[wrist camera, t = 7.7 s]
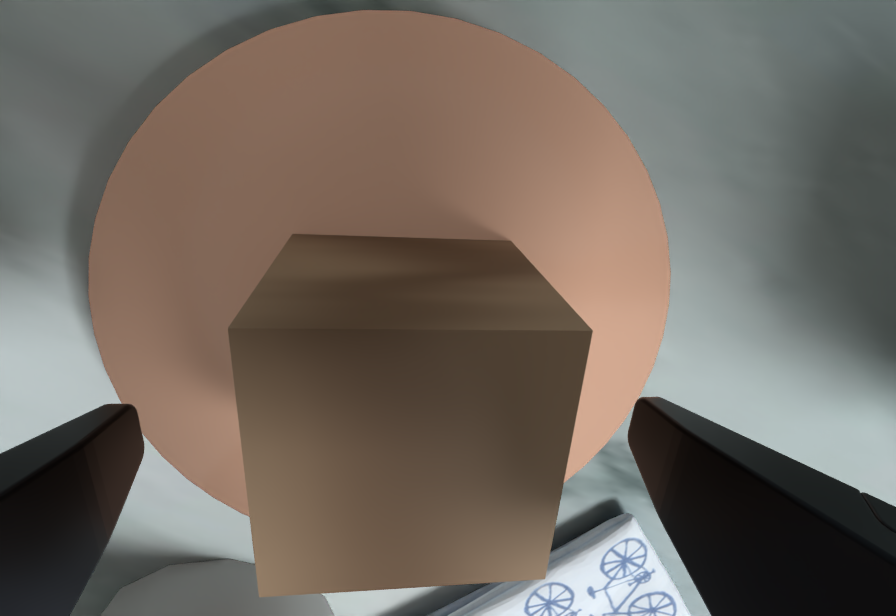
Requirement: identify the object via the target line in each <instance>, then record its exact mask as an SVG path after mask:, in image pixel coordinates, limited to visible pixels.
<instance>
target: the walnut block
mask: <svg viewBox="0 0 896 616" xmlns="http://www.w3.org/2000/svg"><path fill="white" fill-rule="evenodd" d="M592 333H593V330H592V329H591V328H590V327H589V326H588V325H587V324H586V323H585V321H584V320H583V319H582V318H581V317H580V316H579V315H578V314H577V313H576V312H575V310H574V309H573V308H572V307H571V306H570V305H569V304H568V303H567V302H566V301H565V299H564V298H563V297H562V296H561V295H560V294H559V293H558V292H557V291H556V290H555V288H554V287H553V286H552V285H551V284H550V283H549V282H548V281H547V280H546V279H545V277H544V276H543V275H542V274H541V273H540V272H539V271H538V270H537V269H536V268H535V266H534V265H533V264H532V263H531V262H530V261H529V260H528V259H527V258H526V257H525V255H524V254H523V253H522V252H521V251H520V250H519V249H518V248H517V247H516V246H515V245H514V243H513V242H512V241H504V240H472V239H441V238H409V237H378V236H346V235H315V234H292V235H291V237H290V238H289V240H288V241H287V242H286V244H285V245H284V247H283V248H282V250H281V251H280V253H279V254H278V256H277V257H276V258H275V260H274V261H273V263H272V264H271V266H270V267H269V269H268V270H267V272H266V273H265V275H264V276H263V277H262V279H261V280H260V282H259V283H258V285H257V286H256V288H255V289H254V291H253V292H252V293H251V295H250V296H249V298H248V299H247V301H246V302H245V304H244V305H243V307H242V308H241V310H240V311H239V312H238V314H237V315H236V317H235V318H234V320H233V321H232V323H231V324H230V326H229V327H228V335H229V344H230V352H231V361H232V370H233V378H234V387H235V395H236V404H237V412H238V421H239V430H240V438H241V447H242V455H243V464H244V473H245V481H246V490H247V498H248V507H249V515H250V524H251V533H252V541H253V550H254V558H255V567H256V575H257V584H258V593H259V597H273V596H289V595H305V594H320V593H336V592H352V591H368V590H384V589H399V588H415V587H431V586H447V585H463V584H478V583H494V582H510V581H526V580H541V579H545V577H546V572H547V567H548V561H549V556H550V551H551V546H552V541H553V536H554V530H555V525H556V520H557V515H558V510H559V504H560V499H561V494H562V489H563V484H564V478H565V473H566V468H567V463H568V458H569V453H570V447H571V442H572V437H573V432H574V427H575V421H576V416H577V411H578V406H579V401H580V395H581V390H582V385H583V380H584V375H585V370H586V364H587V359H588V354H589V349H590V344H591V338H592Z"/></svg>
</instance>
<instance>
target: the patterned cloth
mask: <svg viewBox="0 0 896 616" xmlns="http://www.w3.org/2000/svg"><path fill="white" fill-rule="evenodd" d="M426 616H692V615H691V614H690V612H689V610H688V609H687V607H686V605H685V603H684V601H683V599H682V597H681V595H680V593H679V591H678V589H677V587H676V586H675V584H674V582H673V581H672V579H671V577H670V576H669V574H668V572H667V571H666V569H665V568H664V566H663V564H662V563H661V561H660V559H659V557H658V555H657V553H656V552H655V550H654V548H653V547H652V545H651V544H650V542H649V541H648V539H647V537H646V536H645V534H644V533H643V531H642V529H641V527H640V525H639V523H638V522H637V520H636V519H635V517H634V516H633V515H632V514H629V513H626V514H625V513H623V514H621V515H619V516H617V517H615V518H612V519H609V520H607V521H605V522H604V523H602V524H600V525H599V526H597V527H595V528H593V529H591V530H589V531H588V532H586V533H584V534H582V535H581V536H579V537H577V538H575V539H573V540H572V541H570V542H568V543H566V544H564V545H562V546H561V547H559V548H557V549H555V550H553V551H551V552H550V556H549V561H548V567H547V572H546V577H545V579H541V580H526V581H510V582H494V583H490V584H488V585H486V586H484V587H482V588H480V589H478V590H476V591H474V592H472V593H470V594H468V595H466V596H464V597H462V598H460V599H458V600H456V601H454V602H452V603H450V604H448V605H446V606H444V607H442V608H440V609H438V610H436V611H434V612H432V613H430V614H428V615H426Z"/></svg>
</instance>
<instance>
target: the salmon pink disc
mask: <svg viewBox="0 0 896 616" xmlns="http://www.w3.org/2000/svg"><path fill="white" fill-rule="evenodd" d="M292 234H315V235H346V236H378V237H409V238H441V239H472V240H504V241H512V242H513V243H514V245H515V246H516V247H517V248H518V249H519V250H520V251H521V252H522V253H523V254H524V255H525V257H526V258H527V259H528V260H529V261H530V262H531V263H532V264H533V265H534V266H535V268H536V269H537V270H538V271H539V272H540V273H541V274H542V275H543V276H544V277H545V279H546V280H547V281H548V282H549V283H550V284H551V285H552V286H553V287H554V288H555V290H556V291H557V292H558V293H559V294H560V295H561V296H562V297H563V298H564V299H565V301H566V302H567V303H568V304H569V305H570V306H571V307H572V308H573V309H574V310H575V312H576V313H577V314H578V315H579V316H580V317H581V318H582V319H583V320H584V321H585V323H586V324H587V325H588V326H589V327H590V328H591V329H592V330H593V333H592V338H591V344H590V349H589V354H588V359H587V364H586V370H585V375H584V380H583V385H582V390H581V395H580V401H579V406H578V411H577V416H576V421H575V427H574V432H573V437H572V442H571V447H570V453H569V458H568V463H567V468H566V473H565V478H564V482H565V481H567V480H568V479H569V478H570V477H571V476H573V475H574V474H575V473H576V472H578V471H579V470H580V469H581V468H582V467H584V466H585V465H586V464H587V463H588V462H589V461H590V460H591V459H592V458H593V457H594V456H595V455H596V454H597V453H598V452H599V451H600V449H601V448H602V447H603V446H604V445H605V444H606V443H607V442H608V441H609V439H610V438H611V437H612V435H613V434H614V433H615V432H616V430H617V429H618V428H619V427H620V425H621V424H622V423H623V422H624V420H625V419H626V417H627V415H628V414H629V412H630V410H631V409H632V407H633V406H634V404H635V402H636V401H637V399H638V397H639V396H640V394H641V392H642V390H643V388H644V385H645V383H646V381H647V379H648V377H649V375H650V373H651V370H652V368H653V366H654V363H655V360H656V357H657V353H658V350H659V347H660V344H661V341H662V338H663V334H664V328H665V323H666V318H667V312H668V307H669V293H670V274H671V271H670V259H669V247H668V237H667V233H666V228H665V224H664V219H663V215H662V211H661V206H660V203H659V200H658V198H657V195H656V192H655V190H654V187H653V185H652V182H651V179H650V177H649V174H648V172H647V169H646V168H645V166H644V164H643V162H642V160H641V159H640V157H639V155H638V153H637V152H636V150H635V148H634V146H633V144H632V143H631V141H630V139H629V137H628V136H627V135H626V133H625V132H624V131H623V130H622V128H621V127H620V126H619V124H618V123H617V122H616V120H615V119H614V118H613V117H612V115H611V114H610V113H609V111H608V110H607V109H606V108H605V106H604V105H603V104H602V103H601V102H600V101H599V100H597V99H596V98H595V97H594V96H593V95H592V94H591V93H590V92H589V91H588V90H587V89H586V88H585V87H584V86H583V85H582V84H581V83H580V82H579V81H578V80H577V79H576V78H574V77H573V76H572V75H570V74H569V73H567V72H566V71H565V70H563V69H562V68H560V67H559V66H557V65H556V64H555V63H553V62H552V61H550V60H549V59H548V58H546V57H545V56H543V55H542V54H540V53H539V52H537V51H535V50H533V49H531V48H529V47H527V46H525V45H523V44H521V43H519V42H517V41H515V40H513V39H511V38H509V37H507V36H505V35H503V34H501V33H499V32H495V31H492V30H489V29H486V28H483V27H480V26H477V25H474V24H471V23H468V22H465V21H462V20H459V19H455V18H449V17H444V16H438V15H432V14H426V13H420V12H414V11H391V10H359V11H351V12H344V13H336V14H328V15H321V16H315V17H311V18H308V19H304V20H301V21H297V22H294V23H291V24H287V25H284V26H280V27H277V28H273V29H270V30H268V31H266V32H263V33H261V34H259V35H257V36H255V37H253V38H251V39H248V40H246V41H244V42H242V43H240V44H238V45H236V46H234V47H231V48H229V49H227V50H226V51H224V52H223V53H221V54H220V55H218V56H217V57H215V58H214V59H212V60H211V61H209V62H208V63H206V64H205V65H203V66H202V67H200V68H199V69H197V70H196V71H195V72H193V73H192V74H190V75H189V76H187V77H186V78H185V79H184V80H183V81H182V82H181V83H180V84H179V85H178V86H177V87H176V88H175V89H174V90H173V91H172V92H170V93H169V94H168V95H167V96H166V97H165V98H164V99H163V100H162V101H161V102H160V103H159V104H158V105H157V106H156V107H155V108H154V109H153V110H152V112H151V113H150V114H149V116H148V117H147V118H146V120H145V121H144V122H143V123H142V125H141V126H140V127H139V129H138V130H137V131H136V133H135V134H134V135H133V137H132V138H131V139H130V140H129V142H128V144H127V145H126V147H125V149H124V151H123V153H122V155H121V157H120V159H119V160H118V162H117V164H116V166H115V168H114V170H113V172H112V174H111V175H110V177H109V179H108V182H107V185H106V188H105V191H104V194H103V197H102V200H101V203H100V206H99V209H98V212H97V215H96V218H95V223H94V229H93V235H92V241H91V247H90V253H89V303H90V309H91V316H92V323H93V329H94V335H95V338H96V341H97V344H98V348H99V351H100V354H101V357H102V360H103V364H104V367H105V370H106V372H107V374H108V376H109V378H110V380H111V382H112V384H113V386H114V388H115V391H116V393H117V395H118V397H119V399H120V401H121V402H122V404H132V405H133V406H135V408H136V409H137V412H138V416H139V421H140V426H141V431H142V433H143V435H144V436H145V437H146V438H147V439H148V440H149V442H150V443H151V444H152V445H153V446H154V447H155V449H156V450H157V451H158V452H159V453H160V454H161V456H163V457H164V458H165V459H166V460H167V461H168V462H169V463H170V464H171V465H172V466H174V467H175V468H176V469H177V470H178V471H179V472H180V473H181V474H182V475H183V476H185V477H186V478H187V479H188V480H190V481H191V482H192V483H194V484H195V485H197V486H198V487H199V488H201V489H202V490H204V491H205V492H206V493H208V494H209V495H211V496H212V497H213V498H215V499H217V500H219V501H221V502H222V503H224V504H226V505H228V506H230V507H231V508H233V509H235V510H237V511H239V512H240V513H242V514H245V515H247V516H249V517H250V515H249V507H248V498H247V490H246V481H245V473H244V464H243V455H242V447H241V438H240V430H239V421H238V412H237V404H236V395H235V387H234V378H233V370H232V361H231V352H230V344H229V335H228V327H229V326H230V324H231V323H232V321H233V320H234V318H235V317H236V315H237V314H238V312H239V311H240V310H241V308H242V307H243V305H244V304H245V302H246V301H247V299H248V298H249V296H250V295H251V293H252V292H253V291H254V289H255V288H256V286H257V285H258V283H259V282H260V280H261V279H262V277H263V276H264V275H265V273H266V272H267V270H268V269H269V267H270V266H271V264H272V263H273V261H274V260H275V258H276V257H277V256H278V254H279V253H280V251H281V250H282V248H283V247H284V245H285V244H286V242H287V241H288V240H289V238H290V237H291V235H292Z"/></svg>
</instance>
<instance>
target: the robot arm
mask: <svg viewBox="0 0 896 616" xmlns="http://www.w3.org/2000/svg"><path fill="white" fill-rule="evenodd" d="M628 443H629V446H630V449H631V451H632V454H633V456H634V459H635V461H636V463H637V466H638V468H639V471H640V473H641V476H642V478H643V481H644V483H645V485H646V488H647V490H648V493H649V495H650V498H651V500H652V503H653V505H654V507H655V509H656V512H657V514H658V516H659V518H660V520H661V522H662V524H663V526H664V528H665V530H666V532H667V534H668V536H669V537H670V539H671V541H672V543H673V545H674V547H675V549H676V551H677V552H678V554H679V556H680V558H681V560H682V562H683V564H684V566H685V567H686V569H687V571H688V573H689V575H690V577H691V579H692V580H693V582H694V584H695V586H696V588H697V590H698V592H699V594H700V595H701V597H702V599H703V601H704V603H705V605H706V607H707V609H708V610H709V612H710V614H711V616H896V507H895V506H893V505H890V504H888V503H886V502H884V501H882V500H880V499H877V498H875V497H873V496H871V495H869V494H867V493H864V492H863V493H860V491H859V490H858V489H856V488H854V487H852V486H849V485H847V484H845V483H843V482H841V481H839V480H837V479H834V478H832V477H830V476H828V475H826V474H824V473H822V472H819V471H817V470H815V469H813V468H811V467H809V466H807V465H804V464H802V463H800V462H798V461H796V460H794V459H792V458H789V457H787V456H785V455H783V454H781V453H779V452H777V451H774V450H772V449H770V448H768V447H766V446H764V445H762V444H759V443H757V442H755V441H753V440H751V439H749V438H747V437H744V436H742V435H740V434H738V433H736V432H734V431H732V430H729V429H727V428H725V427H723V426H721V425H719V424H717V423H714V422H712V421H710V420H708V419H706V418H704V417H702V416H699V415H697V414H695V413H693V412H691V411H689V410H687V409H684V408H682V407H680V406H678V405H676V404H674V403H672V402H669V401H667V400H665V399H663V398H661V397H641V398H639V399H638V400H637V401H636V403H635V406H634V410H633V414H632V418H631V422H630V426H629V430H628ZM143 454H144V441H143V436H142V431H141V426H140V421H139V416H138V412H137V409H136V408H135V406H133V405H132V404H106V405H103V406H101V407H99V408H96V409H94V410H92V411H90V412H88V413H86V414H84V415H82V416H79V417H77V418H75V419H73V420H71V421H69V422H67V423H65V424H62V425H60V426H58V427H56V428H54V429H52V430H50V431H48V432H45V433H43V434H41V435H39V436H37V437H35V438H33V439H31V440H28V441H26V442H24V443H22V444H20V445H18V446H16V447H14V448H11V449H9V450H7V451H5V452H3V453H1V454H0V616H70V614H71V612H72V610H73V609H74V607H75V605H76V603H77V601H78V599H79V597H80V595H81V594H82V592H83V590H84V588H85V586H86V584H87V582H88V580H89V579H90V577H91V575H92V573H93V571H94V569H95V567H96V565H97V564H98V562H99V560H100V558H101V556H102V554H103V552H104V550H105V548H106V546H107V544H108V542H109V540H110V538H111V535H112V533H113V531H114V528H115V526H116V524H117V521H118V519H119V516H120V514H121V511H122V509H123V506H124V504H125V501H126V499H127V496H128V494H129V491H130V489H131V486H132V484H133V481H134V479H135V476H136V474H137V471H138V469H139V466H140V464H141V461H142V458H143Z"/></svg>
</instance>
